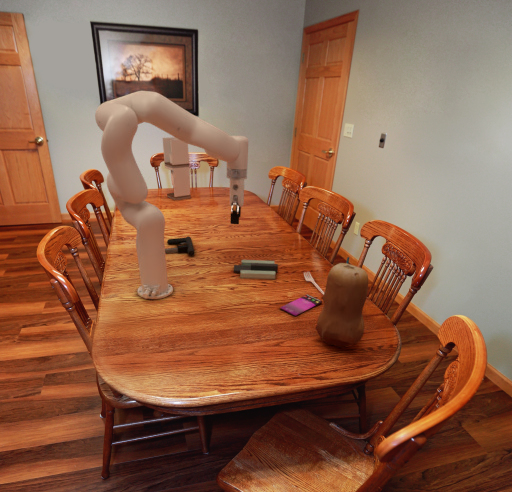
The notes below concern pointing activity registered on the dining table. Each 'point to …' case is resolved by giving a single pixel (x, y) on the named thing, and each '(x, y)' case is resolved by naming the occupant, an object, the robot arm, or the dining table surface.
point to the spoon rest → (257, 273)
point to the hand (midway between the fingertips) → (235, 220)
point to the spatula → (256, 267)
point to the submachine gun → (181, 246)
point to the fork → (312, 281)
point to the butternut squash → (343, 306)
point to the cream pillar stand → (177, 167)
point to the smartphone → (301, 305)
